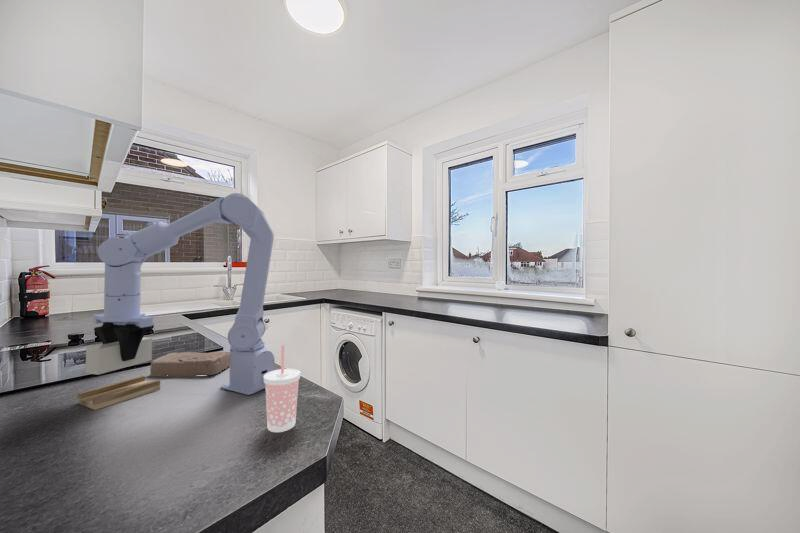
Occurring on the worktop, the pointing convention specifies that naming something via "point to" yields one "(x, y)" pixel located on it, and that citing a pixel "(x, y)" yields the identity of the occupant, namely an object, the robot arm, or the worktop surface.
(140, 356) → the white rectangular block
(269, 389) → the beverage cup
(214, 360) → the brick
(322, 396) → the worktop surface
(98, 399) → the wooden base plate
